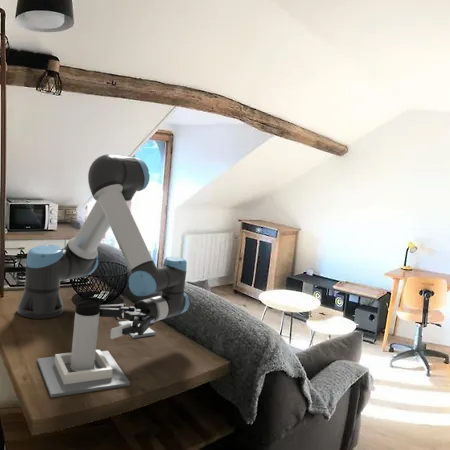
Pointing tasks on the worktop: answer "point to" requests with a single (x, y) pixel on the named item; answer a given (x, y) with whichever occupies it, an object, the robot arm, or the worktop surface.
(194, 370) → the worktop surface
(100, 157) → the robot arm
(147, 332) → the external hard drive
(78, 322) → the travel mug
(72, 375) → the dock
